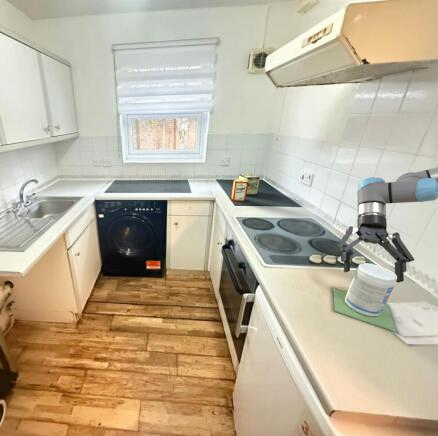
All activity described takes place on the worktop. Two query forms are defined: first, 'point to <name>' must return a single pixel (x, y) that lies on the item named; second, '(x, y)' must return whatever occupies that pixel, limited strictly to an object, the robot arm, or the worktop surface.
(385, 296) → the supplement tub
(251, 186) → the protein box
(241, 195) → the baking soda box
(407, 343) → the worktop surface
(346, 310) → the mat
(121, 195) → the worktop surface
